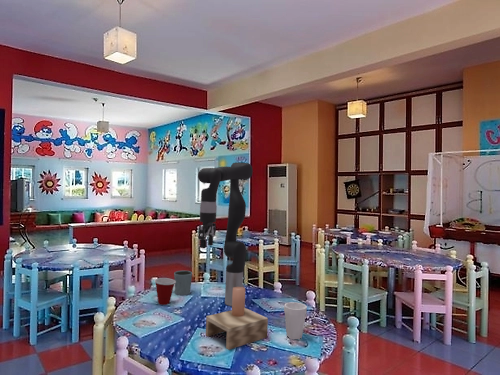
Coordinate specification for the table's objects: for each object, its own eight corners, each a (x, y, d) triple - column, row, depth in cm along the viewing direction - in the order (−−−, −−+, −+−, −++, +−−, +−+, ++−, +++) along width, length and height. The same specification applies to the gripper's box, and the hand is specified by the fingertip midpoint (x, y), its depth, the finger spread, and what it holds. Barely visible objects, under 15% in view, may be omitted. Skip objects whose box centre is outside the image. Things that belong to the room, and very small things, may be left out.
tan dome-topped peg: (239, 311, 156) (240, 286, 156) (247, 314, 152) (248, 289, 152) (229, 313, 153) (230, 287, 153) (236, 317, 148) (238, 291, 148)
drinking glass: (194, 292, 208) (195, 271, 208) (185, 297, 198) (186, 275, 198) (179, 290, 211) (179, 269, 211) (169, 294, 201) (170, 273, 201)
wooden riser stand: (243, 325, 161) (244, 307, 161) (267, 337, 149) (267, 318, 149) (205, 335, 149) (206, 316, 149) (228, 349, 136) (229, 328, 136)
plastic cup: (169, 307, 180) (170, 283, 180) (149, 305, 182) (150, 281, 182) (178, 301, 191) (179, 278, 191) (159, 299, 193) (160, 276, 193)
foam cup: (291, 343, 144) (292, 310, 144) (278, 334, 153) (280, 303, 153) (310, 339, 149) (311, 308, 149) (297, 330, 157) (298, 301, 157)
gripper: (209, 212, 156) (208, 249, 156) (221, 211, 170) (220, 245, 170) (194, 211, 159) (192, 248, 159) (206, 210, 172) (205, 243, 172)
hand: (206, 246), depth 164 cm, fingers open, 8 cm apart
